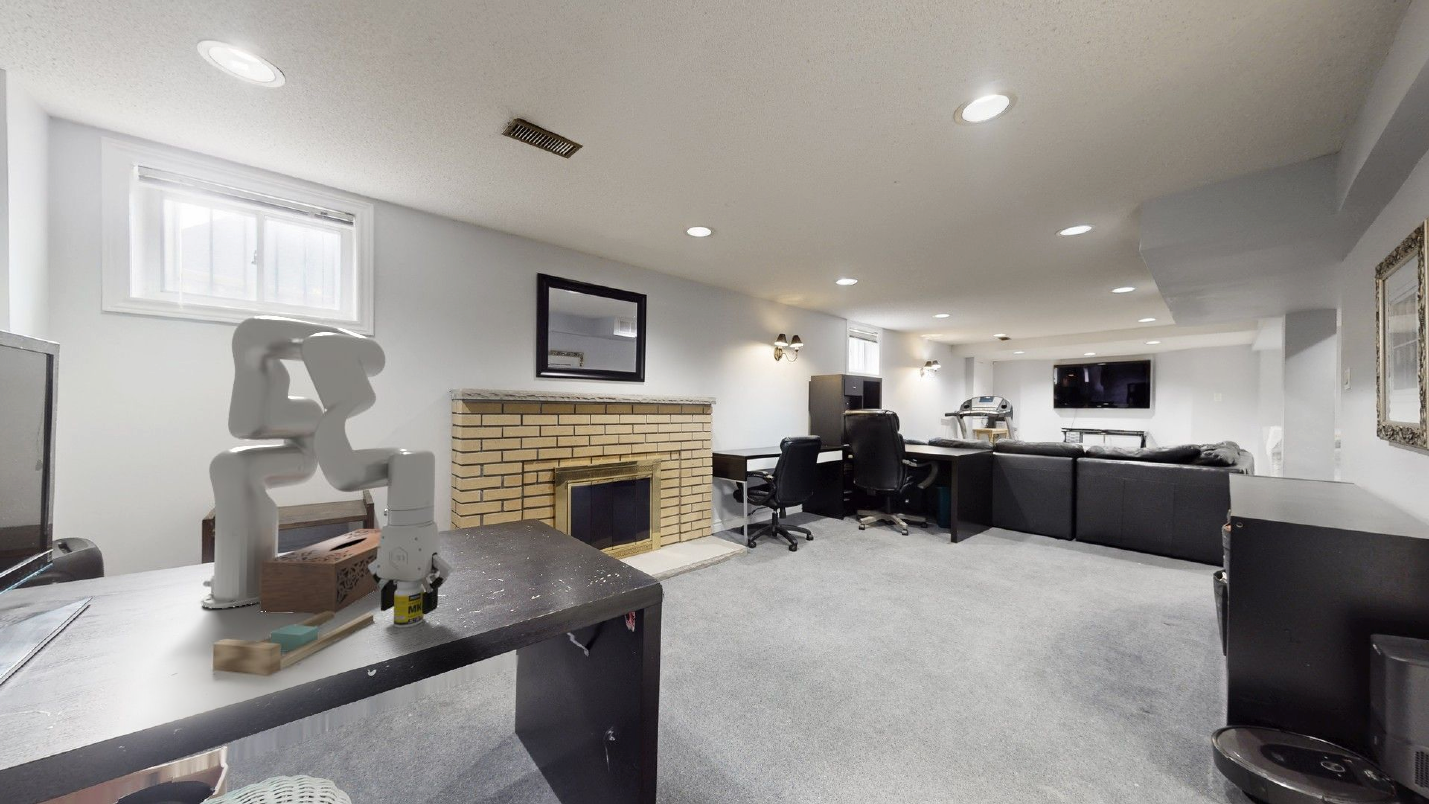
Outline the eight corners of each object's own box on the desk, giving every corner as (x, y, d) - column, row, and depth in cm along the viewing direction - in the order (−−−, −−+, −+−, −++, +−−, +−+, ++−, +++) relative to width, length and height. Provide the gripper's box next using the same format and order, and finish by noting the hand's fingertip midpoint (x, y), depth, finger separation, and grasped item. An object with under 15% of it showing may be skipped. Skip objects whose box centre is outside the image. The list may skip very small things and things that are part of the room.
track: (212, 669, 73) (213, 643, 73) (326, 617, 92) (327, 596, 92) (269, 675, 72) (270, 649, 72) (373, 621, 90) (373, 599, 90)
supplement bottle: (409, 630, 87) (409, 583, 87) (387, 627, 88) (388, 581, 88) (429, 618, 92) (430, 574, 92) (408, 616, 93) (409, 572, 93)
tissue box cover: (359, 569, 119) (360, 528, 119) (416, 570, 119) (417, 529, 119) (260, 613, 94) (261, 562, 94) (333, 615, 93) (334, 563, 93)
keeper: (270, 649, 80) (270, 632, 80) (288, 640, 83) (288, 624, 83) (300, 652, 79) (301, 635, 79) (318, 643, 82) (318, 627, 82)
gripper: (352, 518, 88) (350, 615, 87) (439, 523, 85) (437, 622, 85) (385, 510, 95) (383, 598, 95) (466, 513, 93) (464, 604, 93)
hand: (409, 609), depth 90 cm, fingers open, 7 cm apart
